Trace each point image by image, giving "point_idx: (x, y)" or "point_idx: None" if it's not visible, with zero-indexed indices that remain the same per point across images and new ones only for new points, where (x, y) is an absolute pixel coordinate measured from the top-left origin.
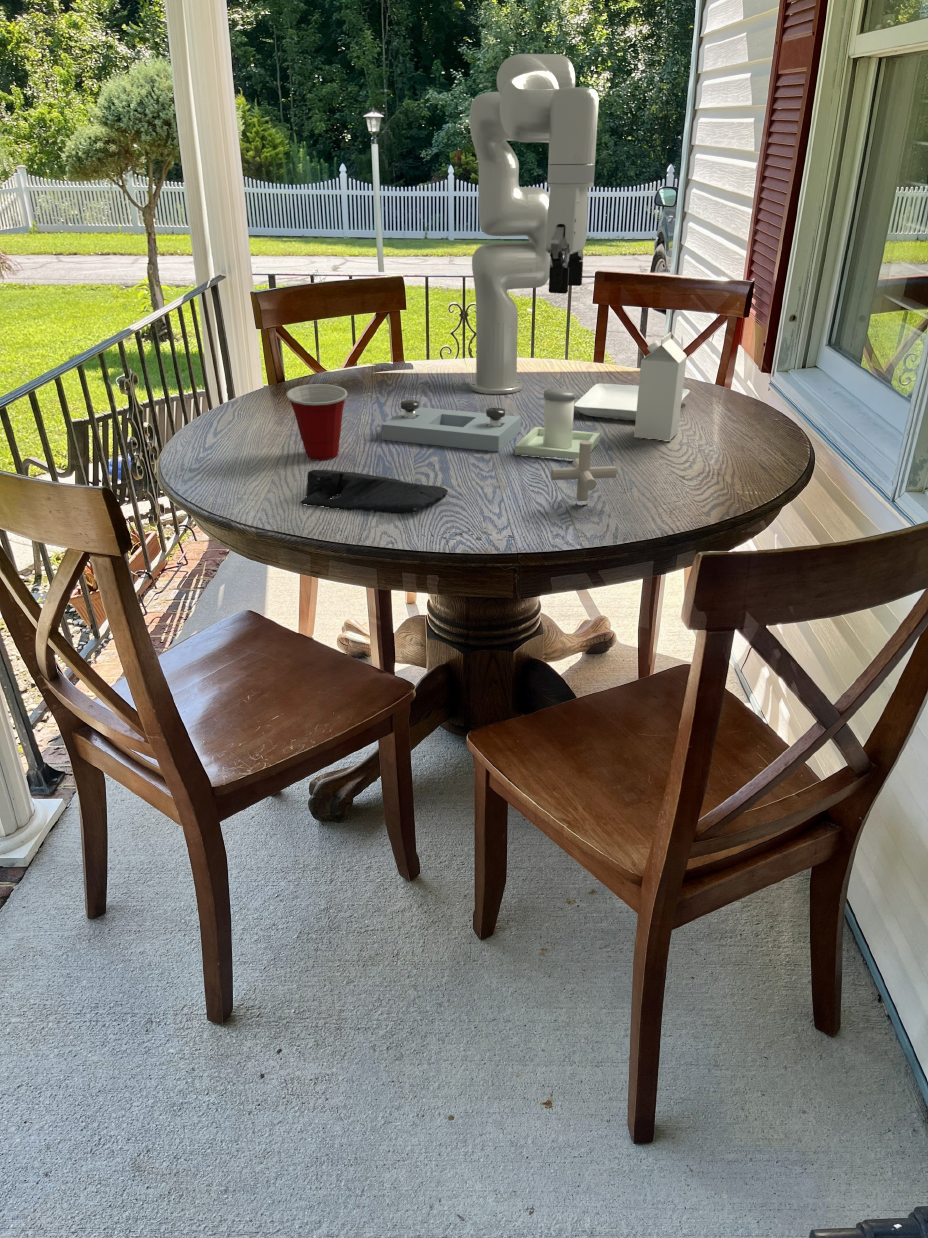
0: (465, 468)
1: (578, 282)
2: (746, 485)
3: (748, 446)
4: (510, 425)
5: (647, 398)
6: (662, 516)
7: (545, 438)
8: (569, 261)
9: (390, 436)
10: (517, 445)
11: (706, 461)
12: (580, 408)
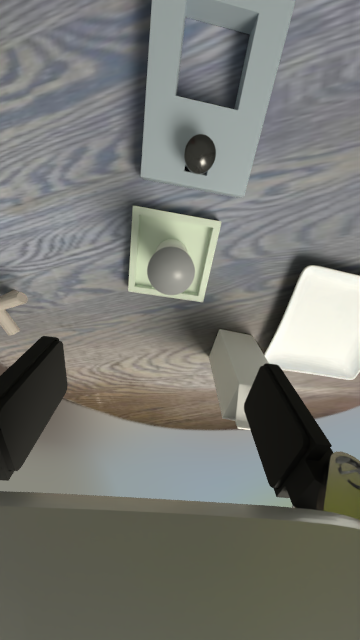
0: (62, 140)
1: (246, 409)
2: (113, 398)
3: (205, 404)
4: (196, 186)
5: (223, 361)
6: (22, 352)
7: (160, 244)
8: (300, 458)
9: None
10: (135, 208)
11: (161, 379)
12: (300, 274)
